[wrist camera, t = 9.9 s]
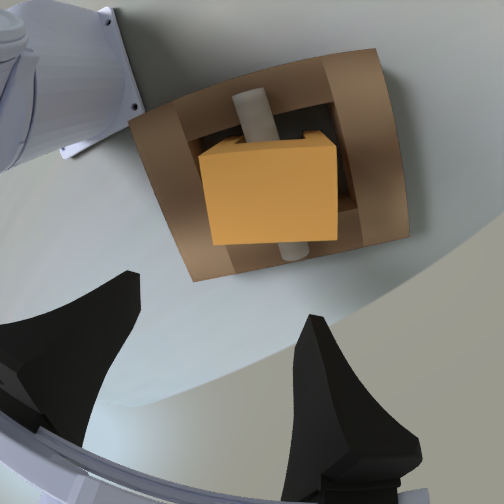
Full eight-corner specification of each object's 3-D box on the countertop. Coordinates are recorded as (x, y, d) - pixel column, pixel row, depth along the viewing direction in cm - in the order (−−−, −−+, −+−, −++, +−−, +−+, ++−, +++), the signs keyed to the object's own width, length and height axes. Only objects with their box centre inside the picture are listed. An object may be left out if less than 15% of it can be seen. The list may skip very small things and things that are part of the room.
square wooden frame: (149, 116, 17) (113, 124, 13) (361, 55, 14) (384, 43, 10) (204, 259, 22) (186, 296, 18) (394, 217, 19) (418, 249, 15)
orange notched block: (228, 136, 17) (198, 156, 11) (319, 130, 16) (336, 146, 11) (236, 198, 19) (213, 245, 13) (322, 193, 18) (337, 240, 12)
